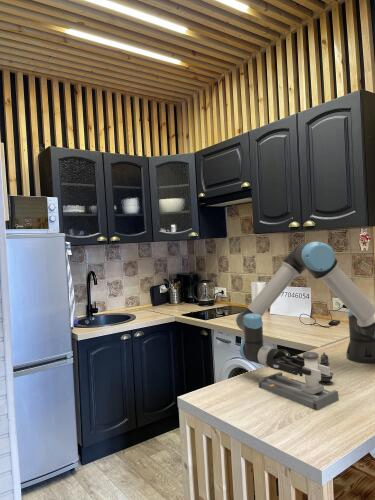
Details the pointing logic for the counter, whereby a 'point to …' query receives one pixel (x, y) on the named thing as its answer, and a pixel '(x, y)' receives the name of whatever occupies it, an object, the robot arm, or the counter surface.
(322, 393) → the console
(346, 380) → the counter surface
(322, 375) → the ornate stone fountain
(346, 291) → the robot arm
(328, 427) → the counter surface
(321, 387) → the fader
